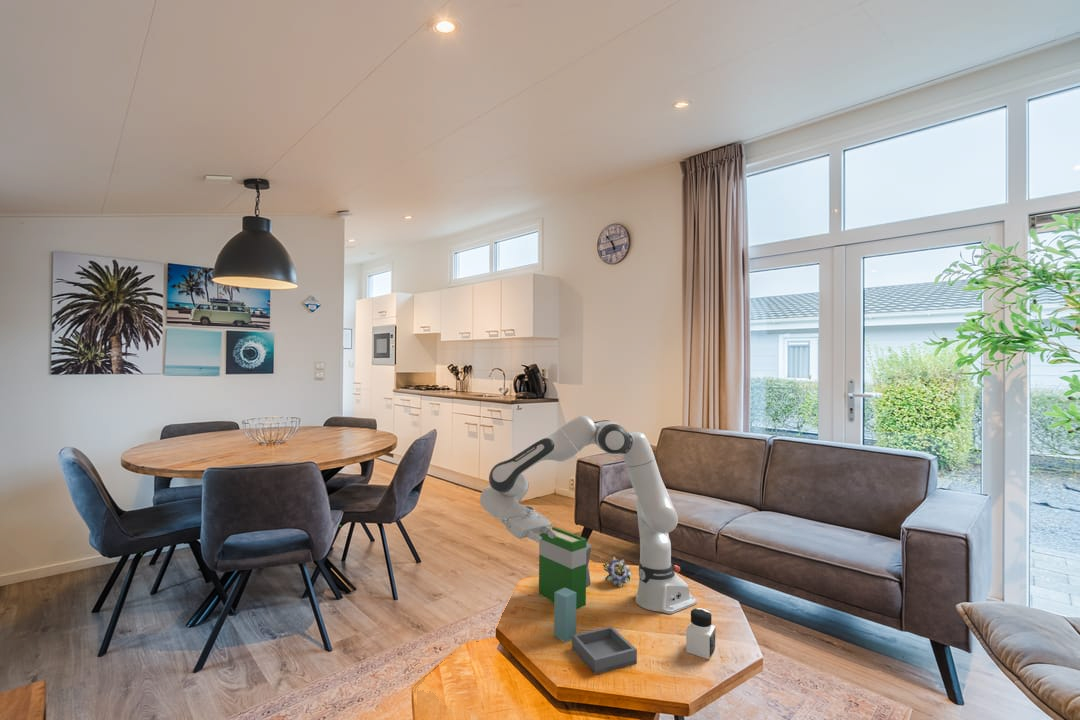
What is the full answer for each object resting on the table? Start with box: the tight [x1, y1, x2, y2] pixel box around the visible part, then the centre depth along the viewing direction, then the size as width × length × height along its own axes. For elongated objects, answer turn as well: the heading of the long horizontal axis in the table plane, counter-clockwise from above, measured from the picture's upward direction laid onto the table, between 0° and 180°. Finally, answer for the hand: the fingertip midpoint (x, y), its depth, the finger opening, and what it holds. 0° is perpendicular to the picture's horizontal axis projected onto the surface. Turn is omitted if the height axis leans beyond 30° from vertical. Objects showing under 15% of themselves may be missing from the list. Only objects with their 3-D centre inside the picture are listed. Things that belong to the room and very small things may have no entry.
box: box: [571, 626, 638, 675], centre depth 147 cm, size 14×14×4 cm
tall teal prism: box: [553, 588, 577, 643], centre depth 158 cm, size 5×5×14 cm
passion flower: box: [602, 555, 633, 588], centre depth 198 cm, size 11×11×12 cm
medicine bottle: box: [685, 607, 716, 660], centre depth 150 cm, size 7×7×12 cm
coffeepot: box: [586, 542, 592, 588], centre depth 198 cm, size 15×9×18 cm, turn 16°
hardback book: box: [538, 526, 587, 610], centre depth 183 cm, size 18×7×24 cm, turn 41°
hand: (547, 538), depth 165 cm, fingers open, 8 cm apart
